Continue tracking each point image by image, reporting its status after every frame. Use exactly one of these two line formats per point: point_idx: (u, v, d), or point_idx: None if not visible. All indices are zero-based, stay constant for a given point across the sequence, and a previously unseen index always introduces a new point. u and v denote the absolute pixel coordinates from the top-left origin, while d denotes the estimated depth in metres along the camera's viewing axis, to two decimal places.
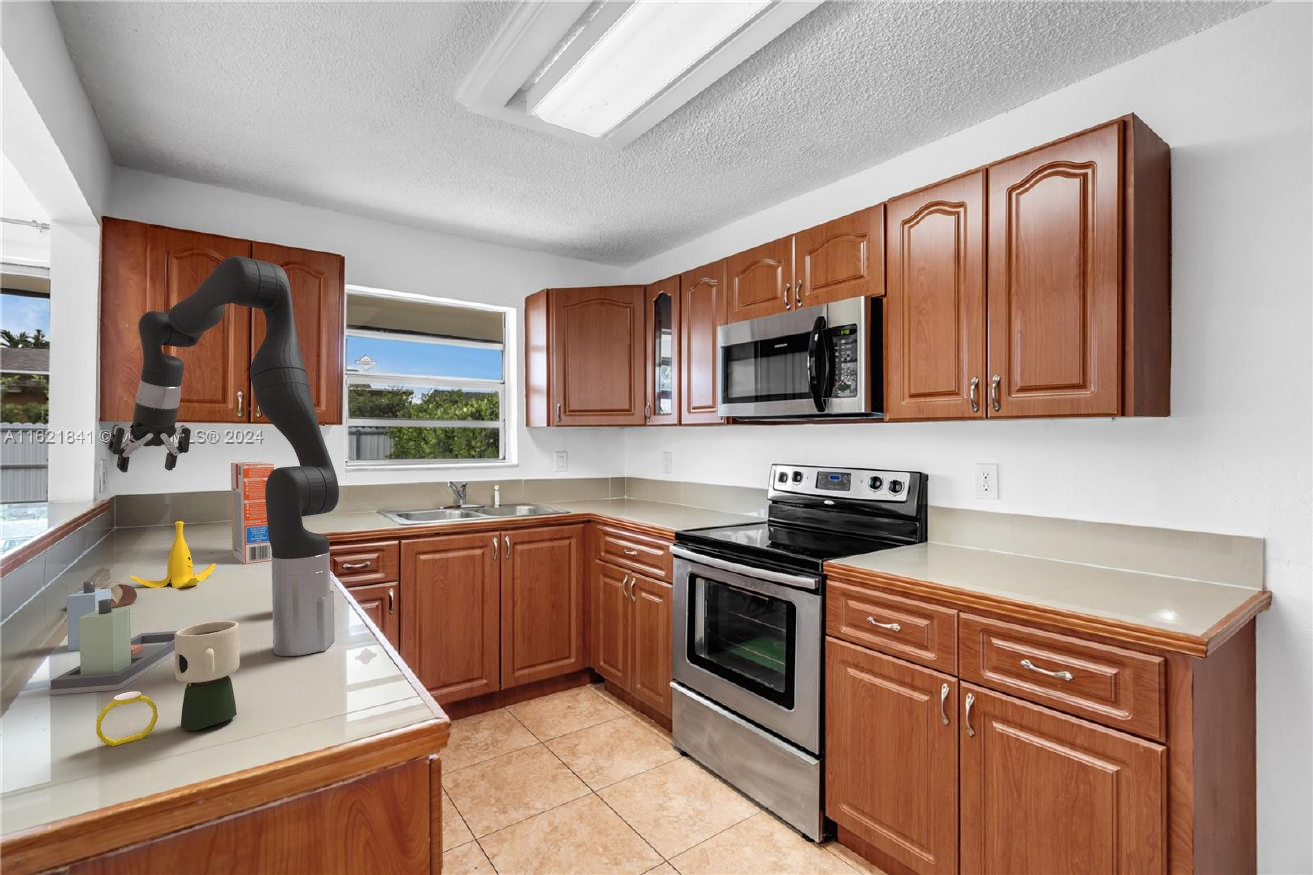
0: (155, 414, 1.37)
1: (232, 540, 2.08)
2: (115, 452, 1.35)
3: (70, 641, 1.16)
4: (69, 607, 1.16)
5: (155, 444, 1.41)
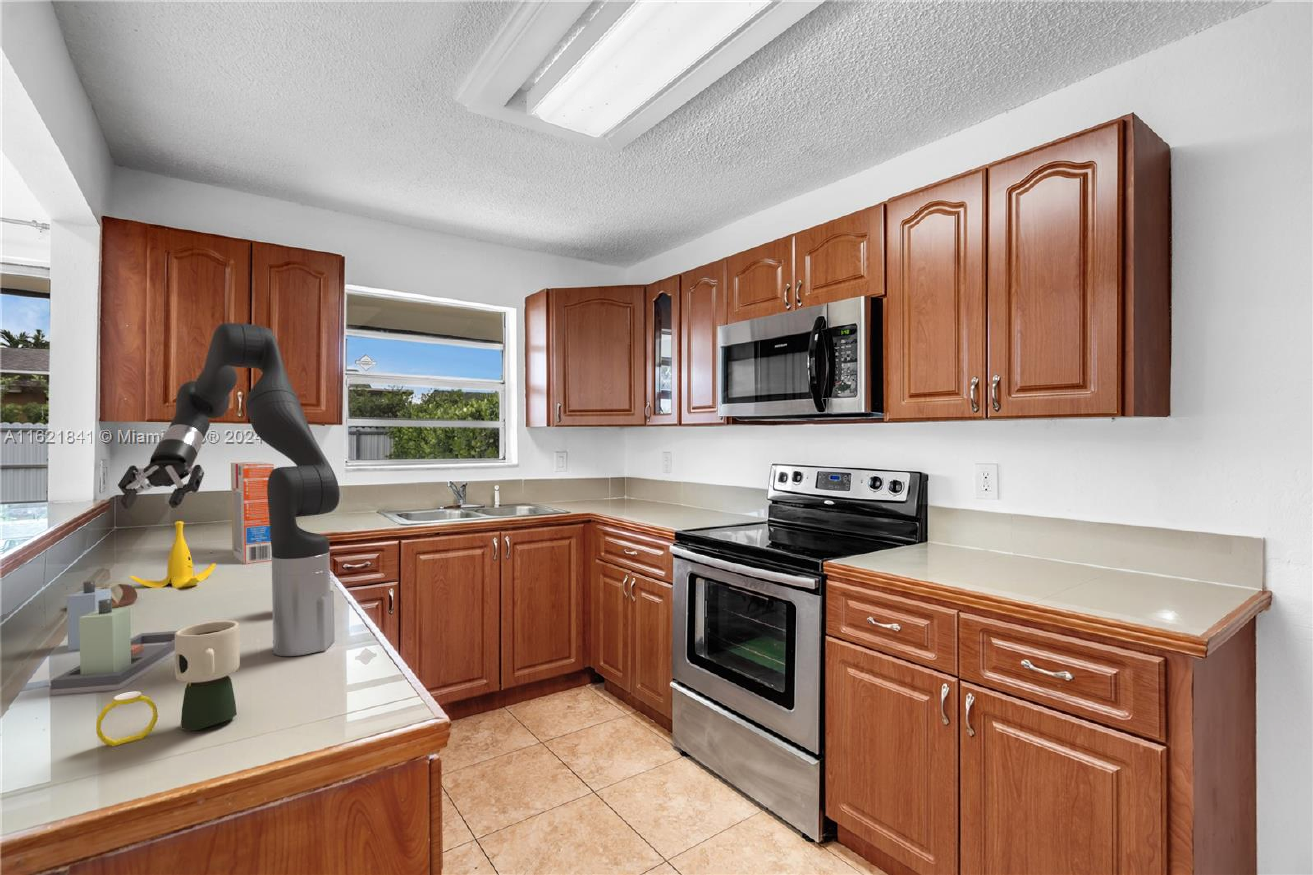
0: (160, 445, 1.39)
1: (232, 540, 2.08)
2: (120, 484, 1.33)
3: (70, 641, 1.16)
4: (69, 607, 1.16)
5: (161, 478, 1.36)
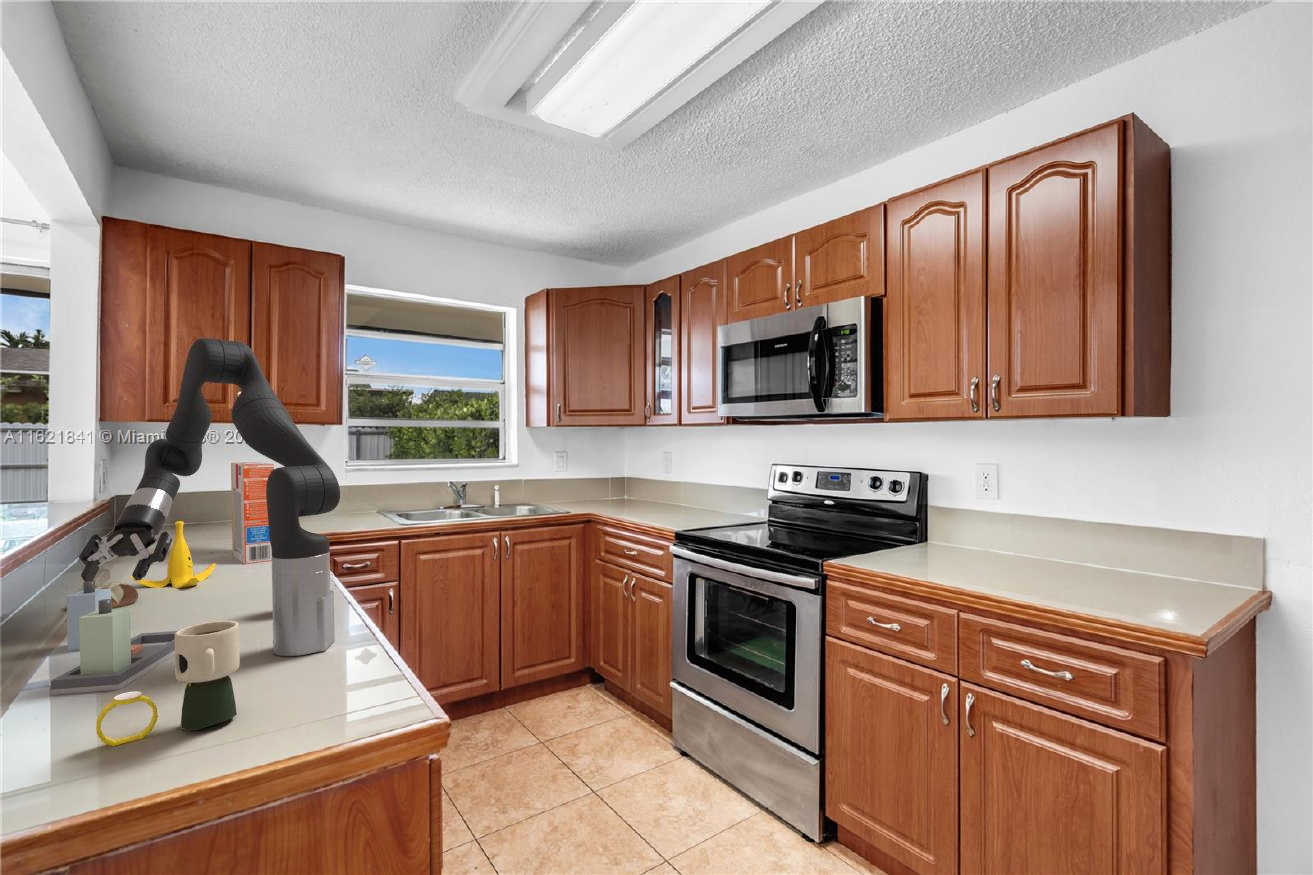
0: (125, 511, 1.32)
1: (232, 540, 2.08)
2: (81, 556, 1.26)
3: (70, 641, 1.16)
4: (69, 607, 1.16)
5: (125, 548, 1.29)
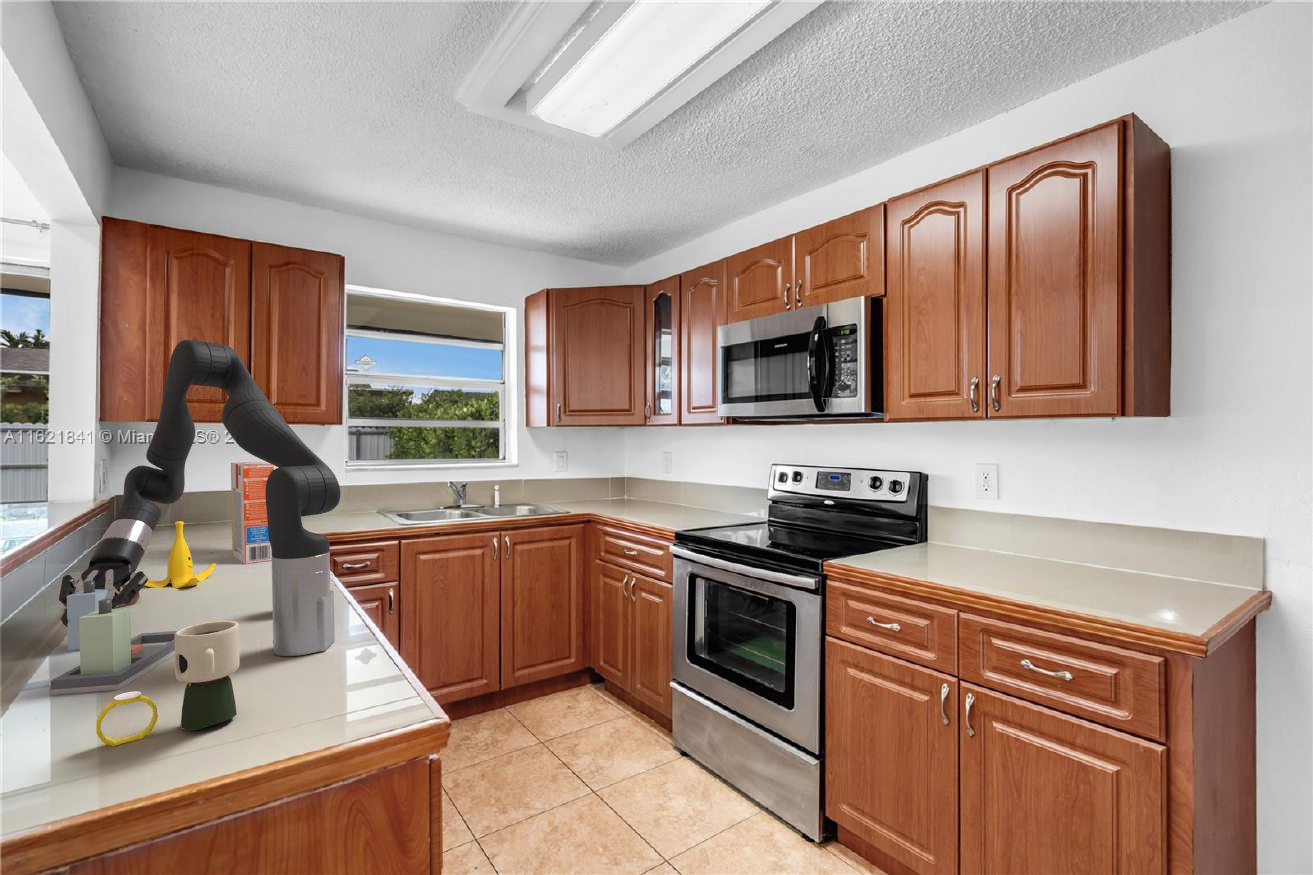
0: (101, 545, 1.24)
1: (232, 540, 2.08)
2: (61, 598, 1.18)
3: (70, 641, 1.16)
4: (69, 607, 1.16)
5: (101, 585, 1.21)
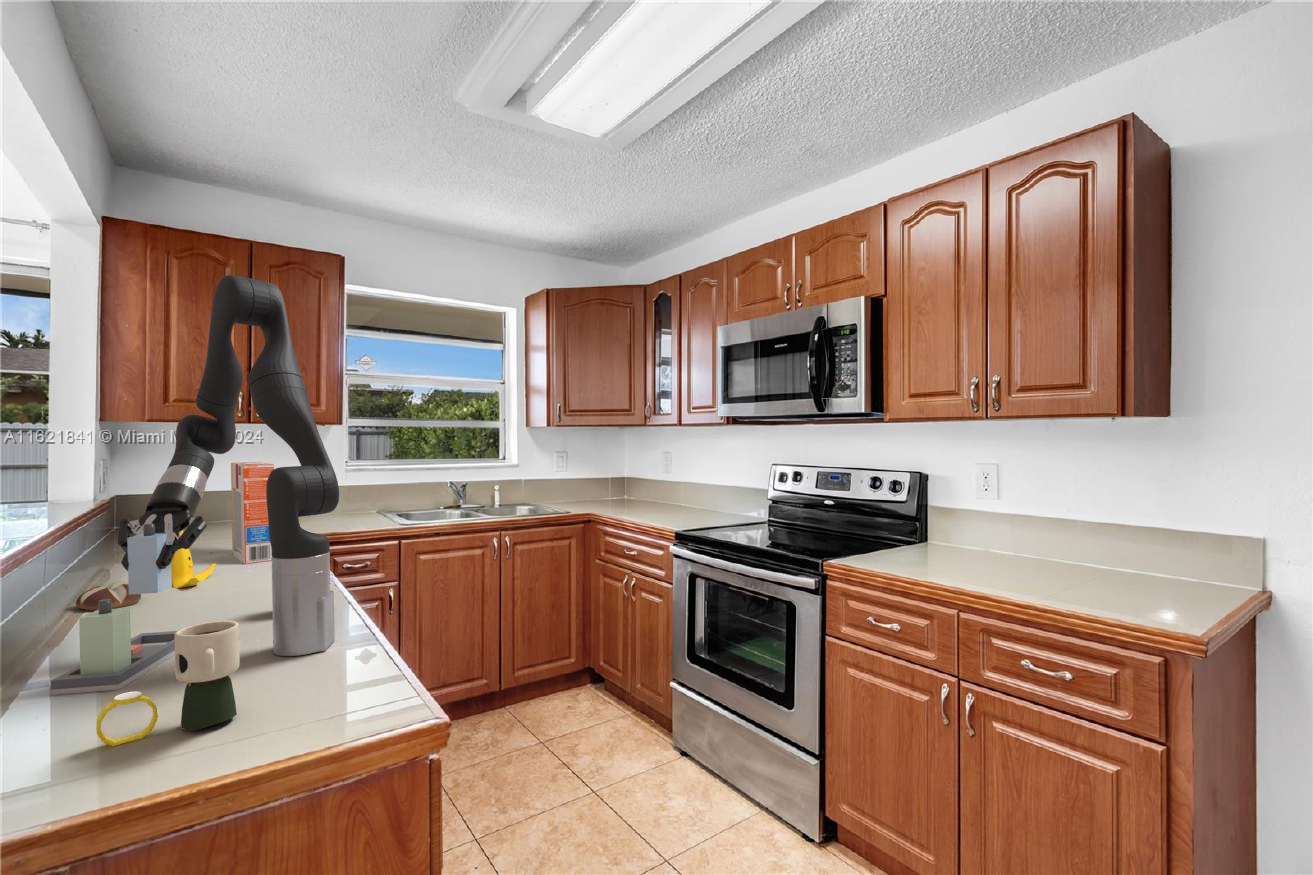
0: (158, 489, 1.20)
1: (232, 540, 2.08)
2: (120, 542, 1.14)
3: (131, 585, 1.12)
4: (130, 549, 1.12)
5: (160, 529, 1.17)
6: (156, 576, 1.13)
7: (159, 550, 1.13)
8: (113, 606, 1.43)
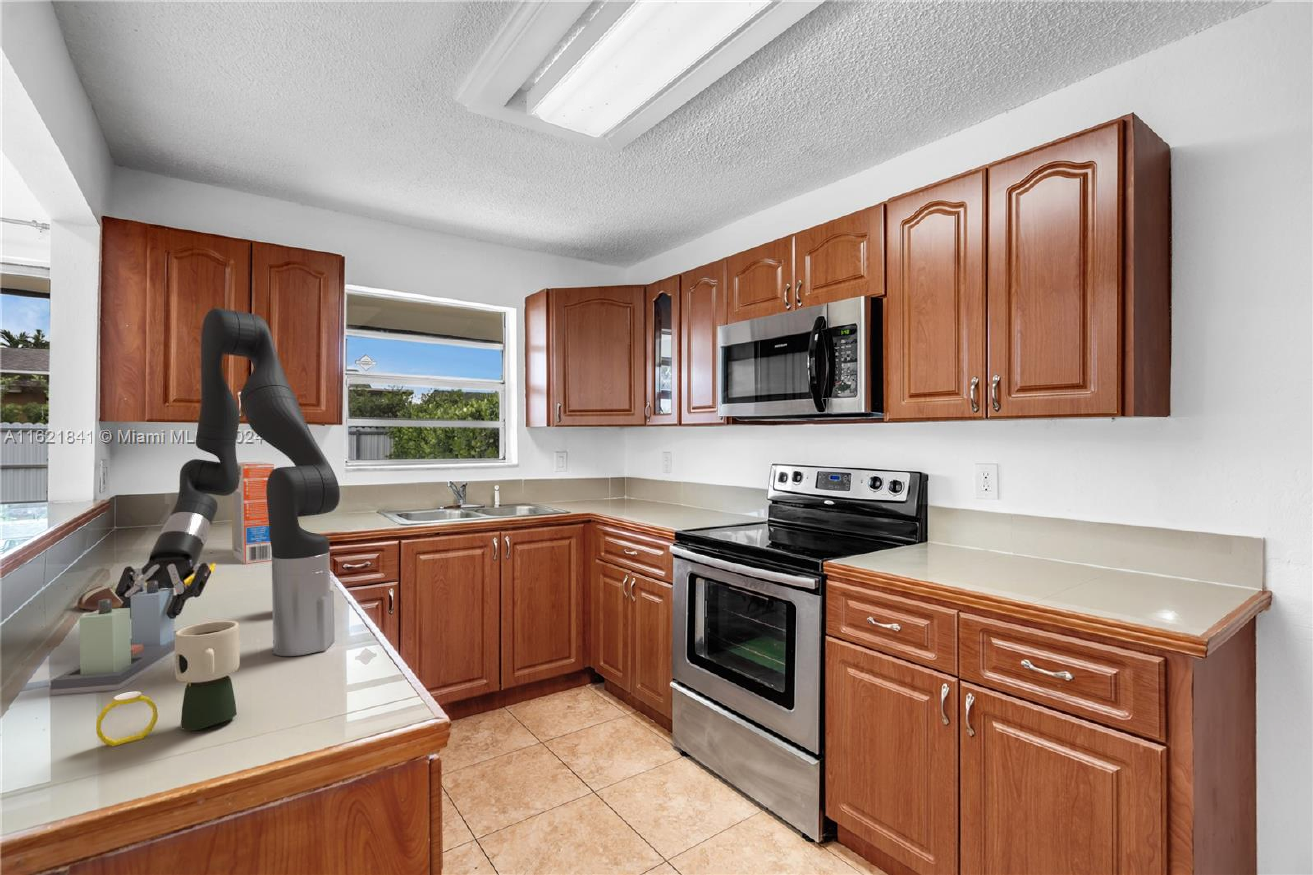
0: (161, 539, 1.20)
1: (232, 540, 2.08)
2: (117, 591, 1.14)
3: (134, 643, 1.12)
4: (133, 608, 1.12)
5: (163, 580, 1.17)
6: (159, 635, 1.13)
7: (162, 608, 1.14)
8: (114, 606, 1.43)
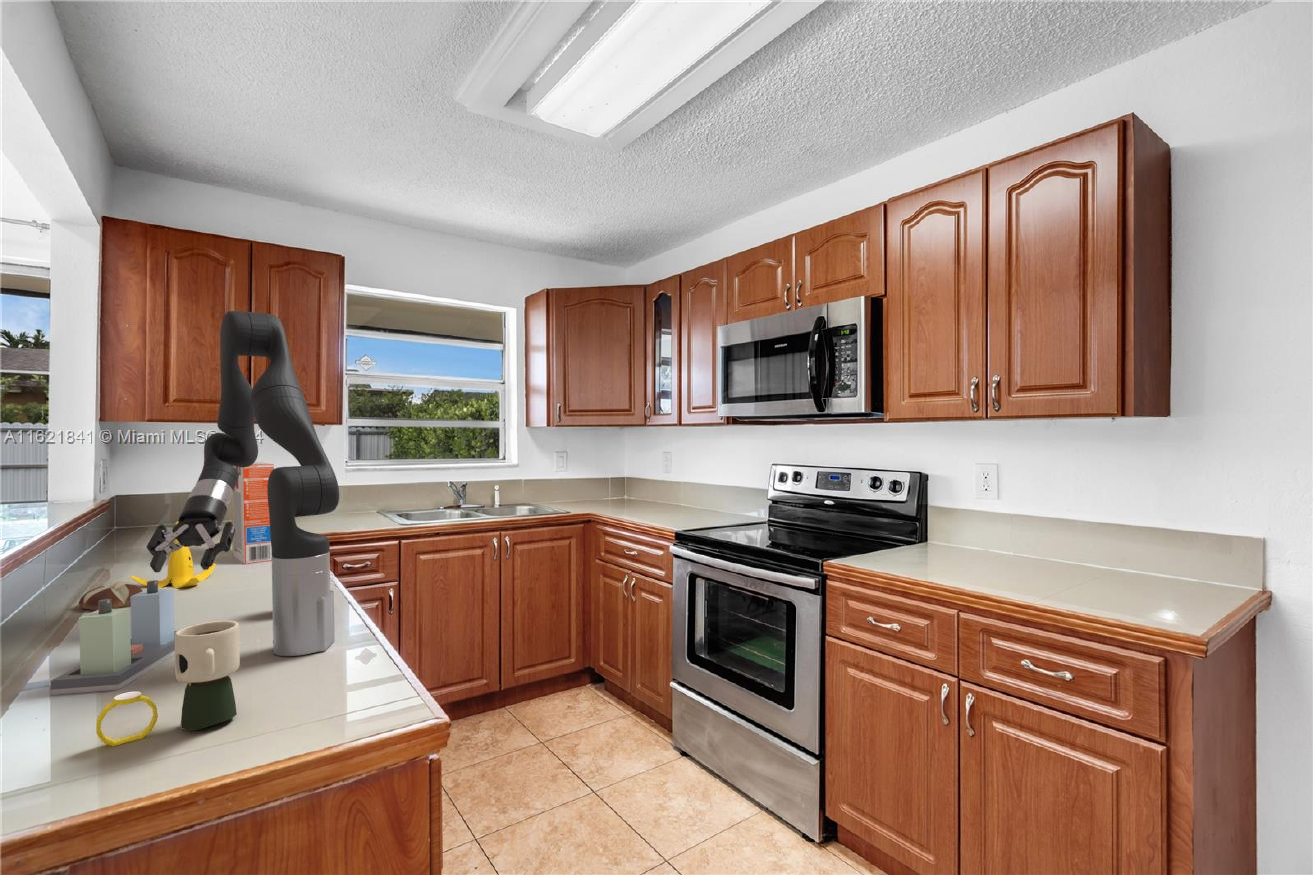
0: (189, 502, 1.32)
1: None
2: (148, 546, 1.26)
3: (134, 643, 1.12)
4: (133, 608, 1.12)
5: (191, 538, 1.29)
6: (159, 635, 1.13)
7: (162, 608, 1.14)
8: (116, 606, 1.43)
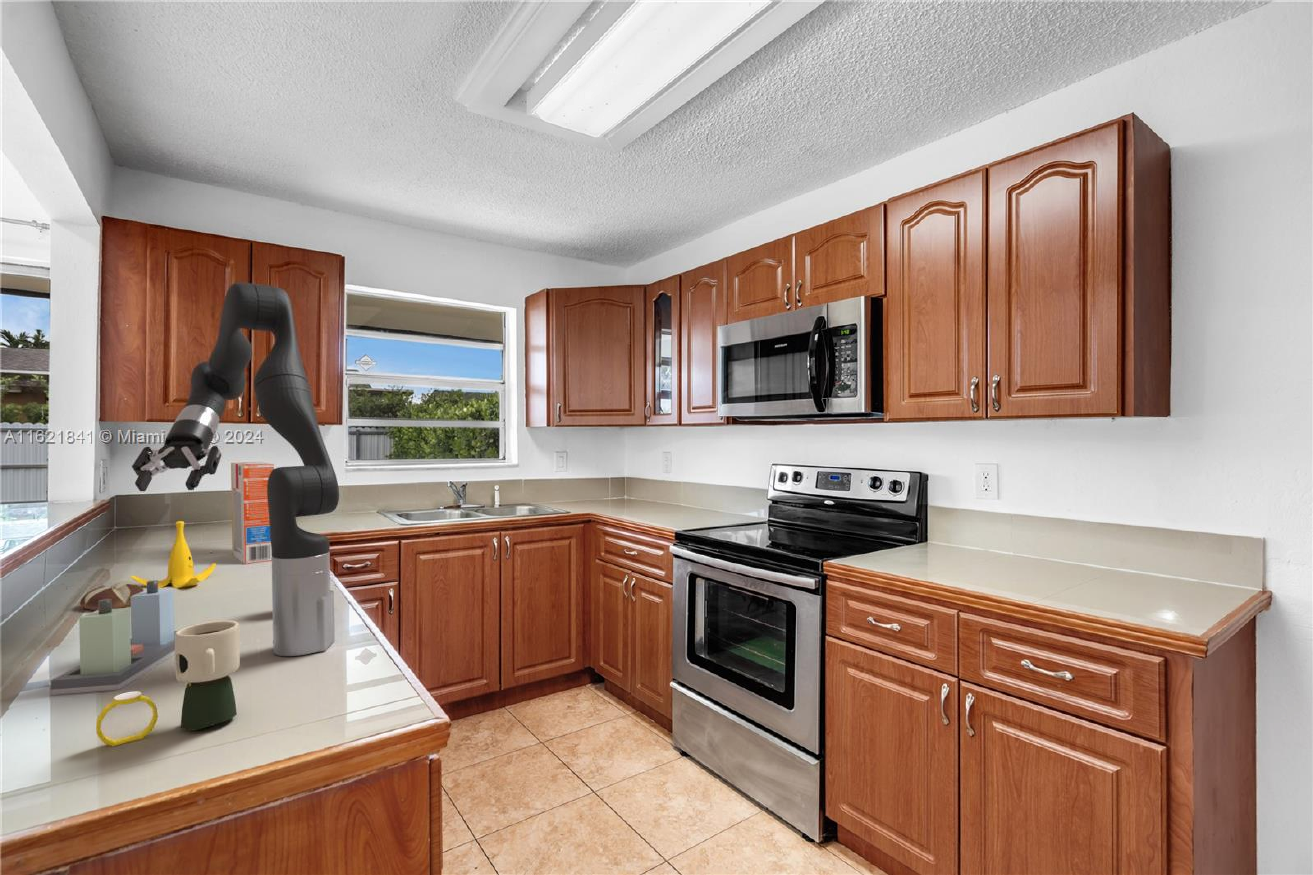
0: (176, 425, 1.33)
1: (232, 540, 2.08)
2: (134, 466, 1.27)
3: (134, 643, 1.12)
4: (133, 608, 1.12)
5: (177, 460, 1.30)
6: (159, 635, 1.13)
7: (162, 608, 1.14)
8: (117, 606, 1.43)
